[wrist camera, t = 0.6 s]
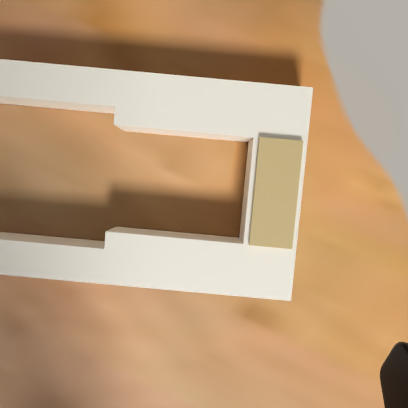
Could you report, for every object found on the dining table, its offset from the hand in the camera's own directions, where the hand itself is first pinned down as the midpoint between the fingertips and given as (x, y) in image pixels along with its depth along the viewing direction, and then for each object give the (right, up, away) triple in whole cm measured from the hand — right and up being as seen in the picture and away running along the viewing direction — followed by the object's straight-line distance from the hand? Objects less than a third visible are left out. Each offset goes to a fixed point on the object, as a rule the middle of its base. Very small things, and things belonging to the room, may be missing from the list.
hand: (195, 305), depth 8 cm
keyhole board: (-5, +4, +15) cm, 16 cm away
